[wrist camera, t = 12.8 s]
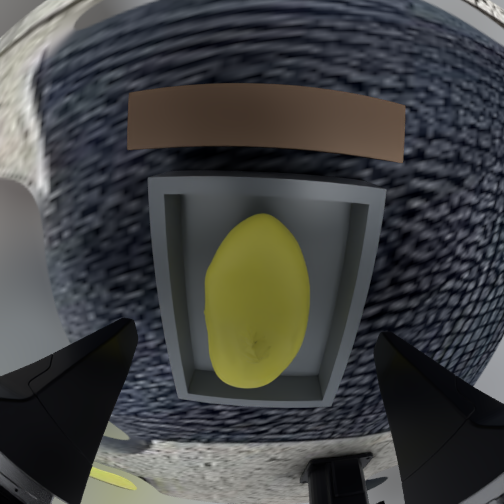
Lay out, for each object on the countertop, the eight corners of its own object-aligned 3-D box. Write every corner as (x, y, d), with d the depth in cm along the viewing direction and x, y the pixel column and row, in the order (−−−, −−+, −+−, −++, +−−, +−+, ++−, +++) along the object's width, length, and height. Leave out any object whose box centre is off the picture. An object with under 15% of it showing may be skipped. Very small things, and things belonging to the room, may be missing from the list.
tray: (324, 374, 15) (330, 406, 12) (188, 367, 15) (178, 398, 13) (363, 180, 11) (386, 189, 8) (171, 170, 11) (147, 177, 9)
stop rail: (370, 158, 10) (402, 163, 8) (159, 148, 11) (127, 150, 8) (373, 113, 10) (405, 105, 7) (161, 104, 10) (129, 93, 7)
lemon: (205, 349, 14) (189, 405, 10) (222, 195, 11) (199, 220, 7) (283, 361, 14) (286, 419, 10) (324, 214, 11) (352, 247, 7)
